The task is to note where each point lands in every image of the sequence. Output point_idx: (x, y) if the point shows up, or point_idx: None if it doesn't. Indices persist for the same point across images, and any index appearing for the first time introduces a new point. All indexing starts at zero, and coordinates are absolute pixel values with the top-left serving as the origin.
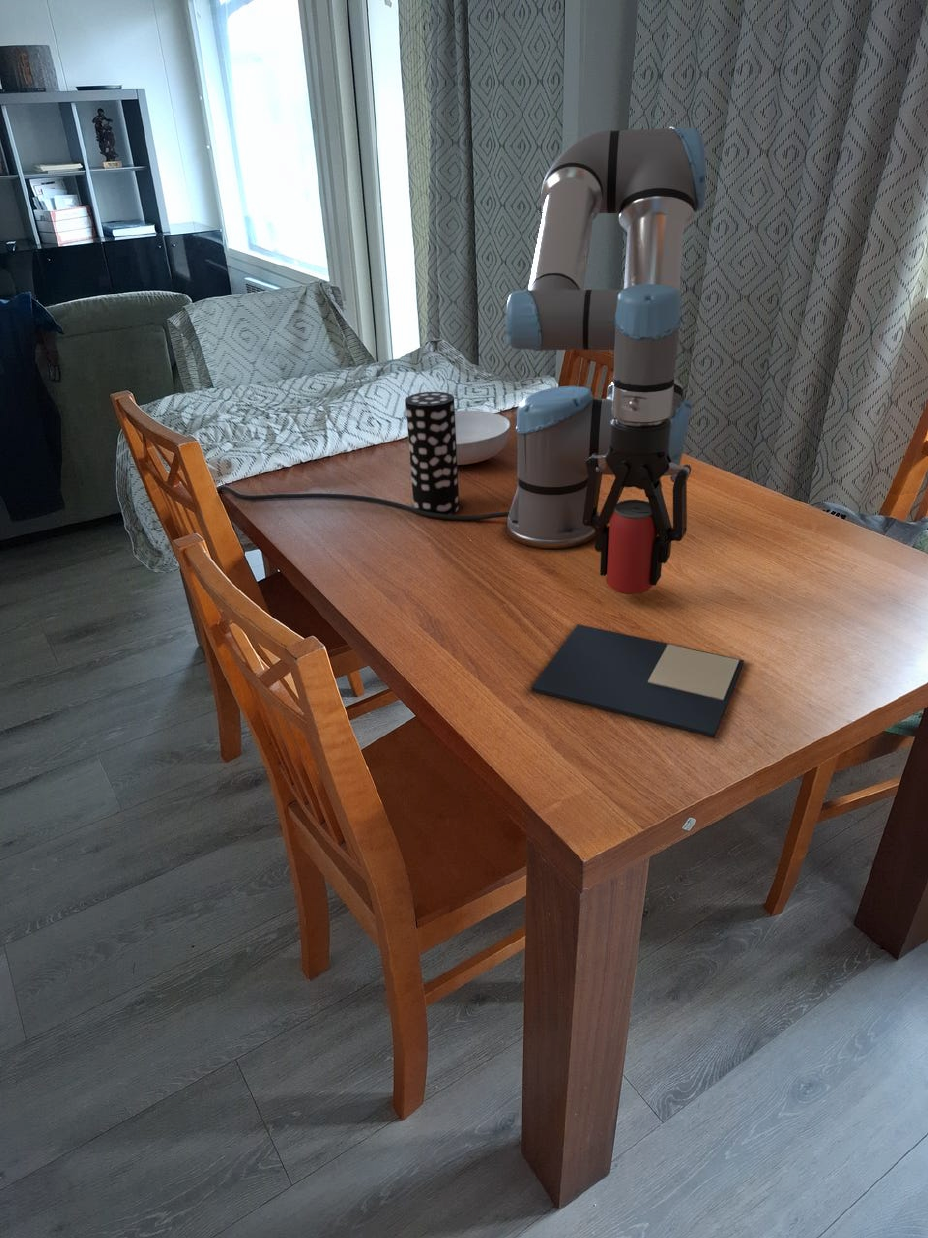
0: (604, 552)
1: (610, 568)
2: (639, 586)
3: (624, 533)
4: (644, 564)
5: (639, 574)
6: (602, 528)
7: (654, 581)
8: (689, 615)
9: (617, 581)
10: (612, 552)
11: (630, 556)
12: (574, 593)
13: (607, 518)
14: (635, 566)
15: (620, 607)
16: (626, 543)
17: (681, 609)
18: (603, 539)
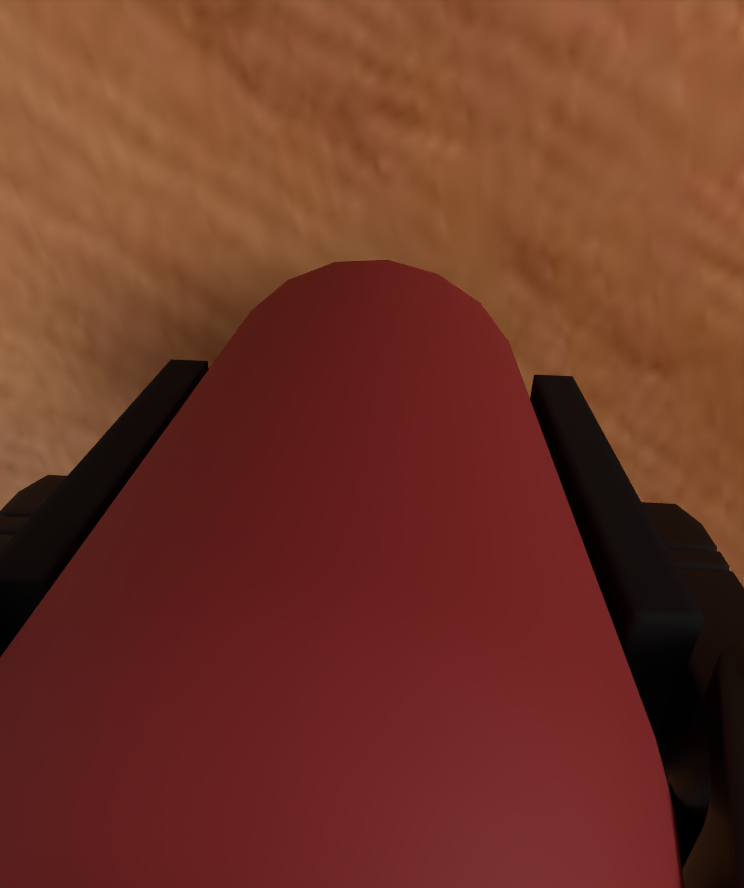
0: (594, 477)
1: (497, 356)
2: (260, 310)
3: (339, 560)
4: (188, 400)
5: (240, 338)
6: (733, 687)
7: (168, 372)
8: (20, 295)
9: (417, 286)
10: (505, 422)
11: (284, 379)
12: (694, 309)
13: (739, 860)
14: (254, 350)
15: (391, 244)
16: (316, 456)
17: (84, 341)
18: (655, 566)
